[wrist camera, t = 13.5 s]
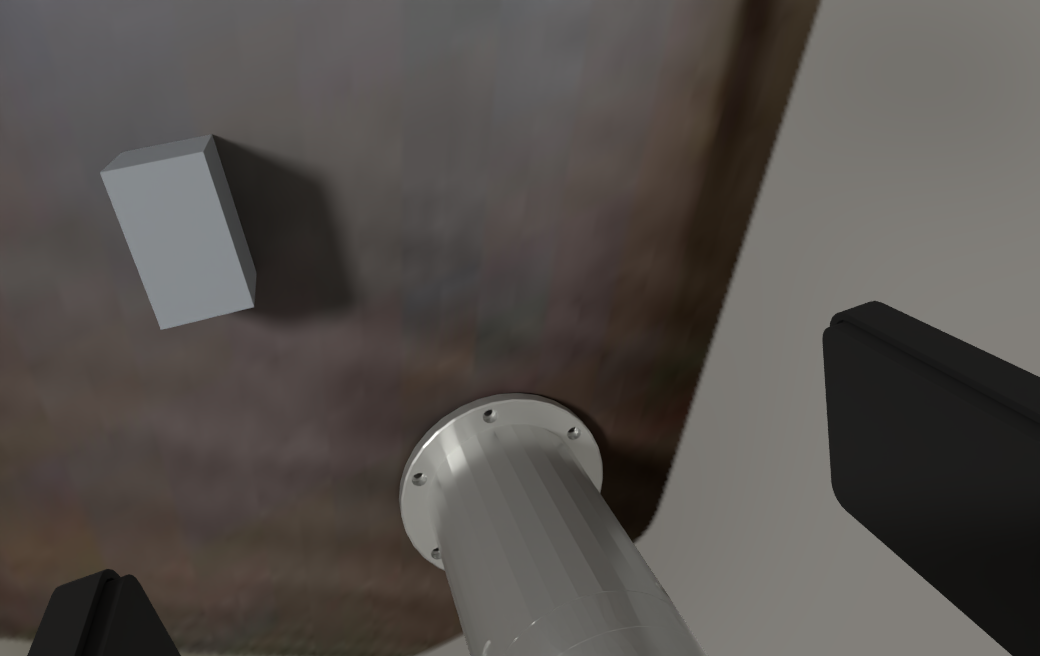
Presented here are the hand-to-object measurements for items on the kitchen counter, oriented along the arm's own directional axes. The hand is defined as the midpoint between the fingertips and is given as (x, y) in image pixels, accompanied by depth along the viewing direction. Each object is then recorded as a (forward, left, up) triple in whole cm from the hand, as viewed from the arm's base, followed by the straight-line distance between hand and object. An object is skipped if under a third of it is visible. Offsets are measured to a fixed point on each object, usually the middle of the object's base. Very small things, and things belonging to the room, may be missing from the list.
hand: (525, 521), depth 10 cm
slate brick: (-2, +8, -31) cm, 32 cm away
